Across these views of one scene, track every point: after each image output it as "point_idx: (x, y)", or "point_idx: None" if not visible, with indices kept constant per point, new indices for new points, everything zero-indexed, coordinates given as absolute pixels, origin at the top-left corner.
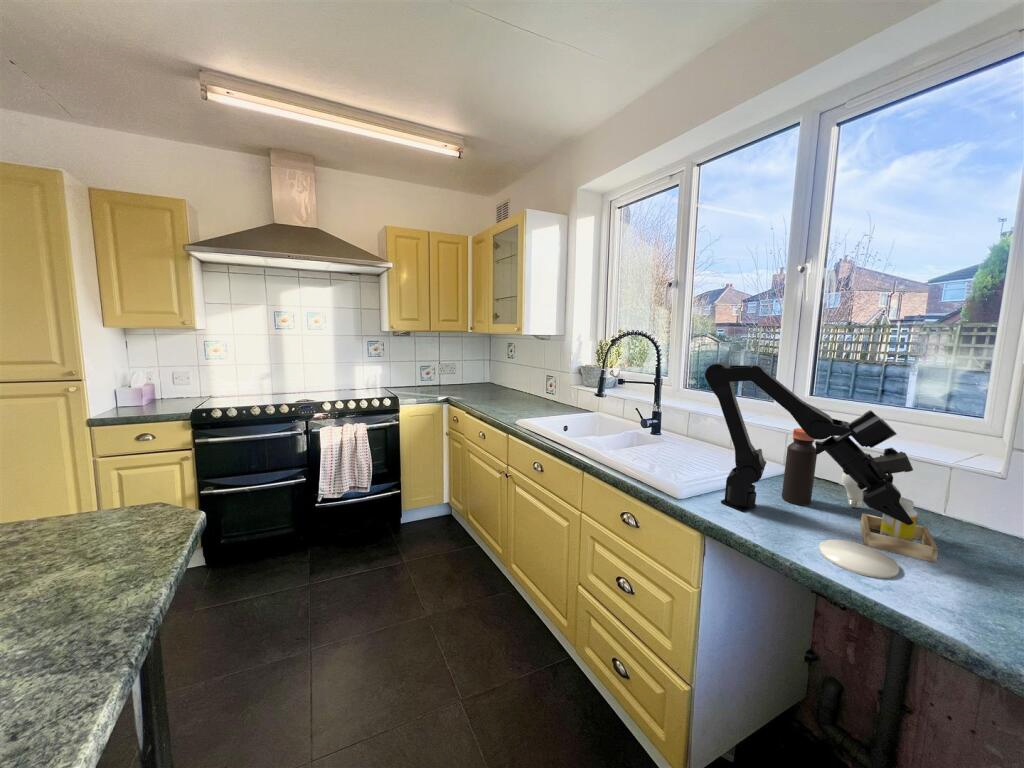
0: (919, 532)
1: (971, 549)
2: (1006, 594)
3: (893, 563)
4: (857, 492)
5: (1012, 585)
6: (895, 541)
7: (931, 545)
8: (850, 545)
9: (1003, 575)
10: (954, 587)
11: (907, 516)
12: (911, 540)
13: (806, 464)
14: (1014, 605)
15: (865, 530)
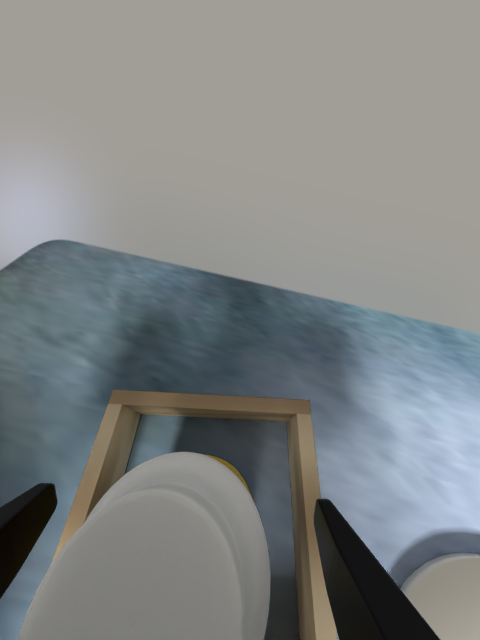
0: (128, 417)
1: (152, 313)
2: (358, 315)
3: (471, 579)
4: None
5: (304, 296)
6: None
7: (284, 413)
8: None
9: (264, 297)
10: (424, 400)
11: (380, 569)
12: (231, 465)
13: None
14: (399, 316)
15: None
